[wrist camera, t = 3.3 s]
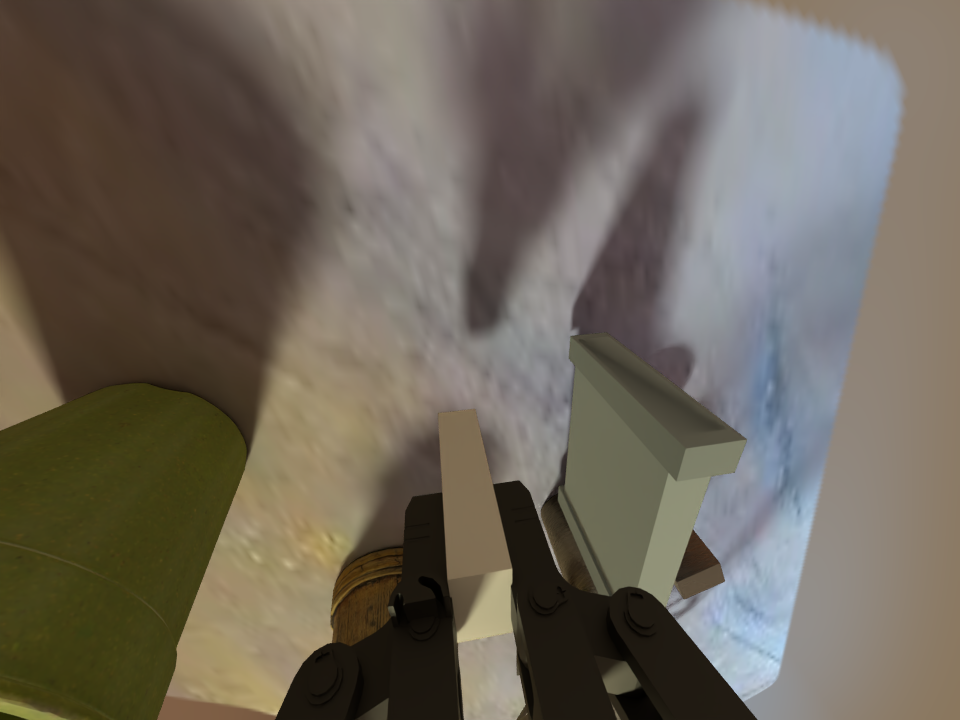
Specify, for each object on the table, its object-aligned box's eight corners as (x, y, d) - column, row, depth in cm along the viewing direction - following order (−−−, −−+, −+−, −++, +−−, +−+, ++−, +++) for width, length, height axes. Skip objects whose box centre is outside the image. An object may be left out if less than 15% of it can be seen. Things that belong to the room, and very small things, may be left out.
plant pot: (-31, 465, 16) (-836, 946, 6) (77, 274, 13) (-1086, 544, 3) (227, 554, 20) (37, 903, 10) (345, 428, 18) (243, 732, 8)
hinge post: (533, 505, 22) (604, 711, 14) (577, 484, 22) (679, 680, 13) (551, 532, 24) (626, 733, 15) (592, 512, 24) (693, 705, 15)
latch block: (618, 492, 23) (676, 582, 18) (650, 476, 23) (720, 563, 17) (626, 509, 24) (683, 599, 19) (657, 494, 24) (725, 581, 18)
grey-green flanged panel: (585, 495, 21) (666, 648, 14) (557, 500, 21) (625, 657, 14) (606, 332, 16) (747, 439, 9) (570, 335, 16) (685, 448, 9)
